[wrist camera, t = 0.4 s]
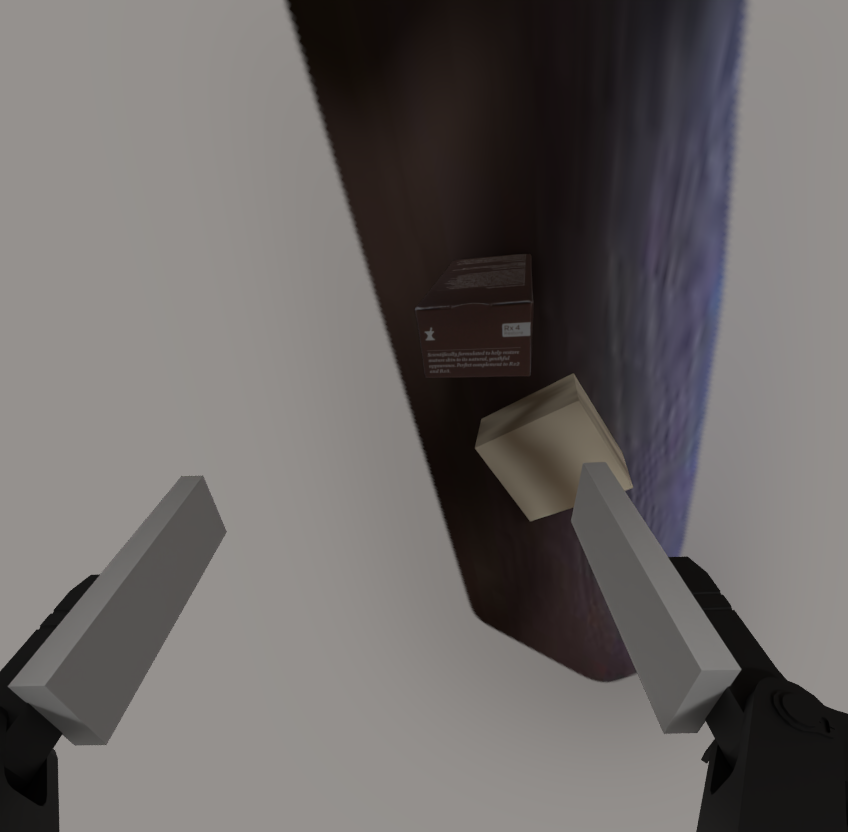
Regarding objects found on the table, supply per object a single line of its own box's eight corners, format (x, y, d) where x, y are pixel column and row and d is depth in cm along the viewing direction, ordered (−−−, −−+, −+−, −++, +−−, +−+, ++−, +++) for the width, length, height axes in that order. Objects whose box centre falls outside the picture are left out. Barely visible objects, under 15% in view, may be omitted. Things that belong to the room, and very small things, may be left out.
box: (457, 317, 32) (421, 380, 22) (452, 259, 30) (410, 300, 20) (533, 313, 31) (532, 380, 21) (534, 251, 28) (533, 292, 18)
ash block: (573, 371, 32) (578, 400, 28) (621, 451, 35) (633, 487, 31) (481, 417, 37) (474, 448, 33) (530, 485, 39) (530, 521, 35)
